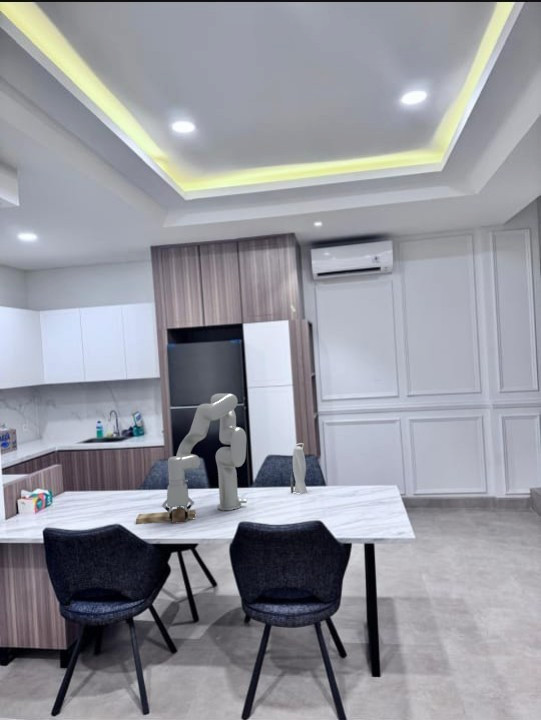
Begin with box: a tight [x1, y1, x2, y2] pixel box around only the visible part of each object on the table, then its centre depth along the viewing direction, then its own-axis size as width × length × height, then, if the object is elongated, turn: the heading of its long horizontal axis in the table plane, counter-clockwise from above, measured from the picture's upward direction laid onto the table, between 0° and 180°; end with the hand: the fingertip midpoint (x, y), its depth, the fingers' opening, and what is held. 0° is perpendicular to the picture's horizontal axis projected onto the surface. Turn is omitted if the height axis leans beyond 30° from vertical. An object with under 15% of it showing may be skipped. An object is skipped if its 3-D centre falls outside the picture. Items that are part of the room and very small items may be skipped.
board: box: [135, 509, 196, 525], centre depth 239 cm, size 28×8×2 cm, turn 96°
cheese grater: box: [289, 442, 308, 495], centre depth 278 cm, size 8×8×28 cm
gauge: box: [171, 506, 186, 524], centre depth 237 cm, size 6×11×7 cm, turn 6°
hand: (178, 519), depth 234 cm, fingers closed on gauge, 6 cm apart
